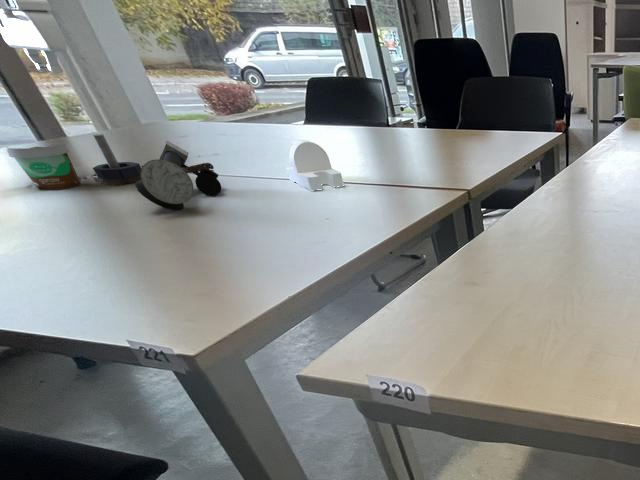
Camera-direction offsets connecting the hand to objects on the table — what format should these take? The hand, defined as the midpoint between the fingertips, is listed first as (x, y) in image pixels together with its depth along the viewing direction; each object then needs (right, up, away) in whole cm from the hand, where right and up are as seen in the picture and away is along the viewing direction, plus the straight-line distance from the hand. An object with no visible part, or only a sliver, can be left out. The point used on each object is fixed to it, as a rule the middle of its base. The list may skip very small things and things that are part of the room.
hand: (50, 72), depth 127 cm
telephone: (+30, -30, +6) cm, 43 cm away
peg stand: (-1, -17, +20) cm, 26 cm away
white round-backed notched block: (+55, -16, +23) cm, 61 cm away
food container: (-11, -23, +13) cm, 28 cm away
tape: (0, -16, +18) cm, 24 cm away
